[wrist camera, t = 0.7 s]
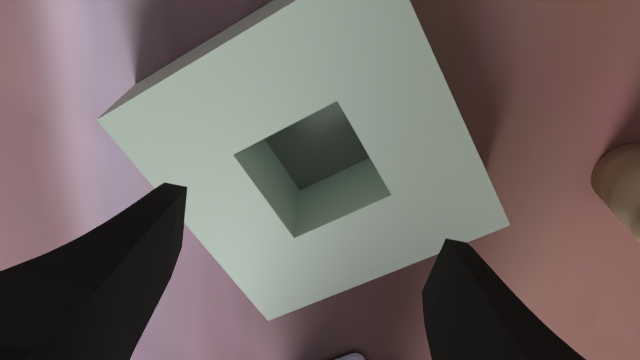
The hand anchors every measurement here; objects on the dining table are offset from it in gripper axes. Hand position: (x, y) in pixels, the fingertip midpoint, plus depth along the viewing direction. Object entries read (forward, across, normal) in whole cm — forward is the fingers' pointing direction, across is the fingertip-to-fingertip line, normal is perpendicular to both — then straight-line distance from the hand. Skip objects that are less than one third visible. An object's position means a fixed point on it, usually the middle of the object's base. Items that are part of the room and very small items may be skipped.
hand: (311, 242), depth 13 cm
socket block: (+10, 0, +1) cm, 10 cm away
